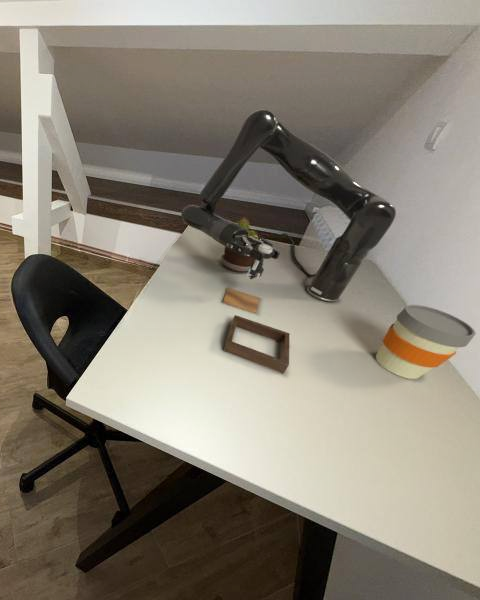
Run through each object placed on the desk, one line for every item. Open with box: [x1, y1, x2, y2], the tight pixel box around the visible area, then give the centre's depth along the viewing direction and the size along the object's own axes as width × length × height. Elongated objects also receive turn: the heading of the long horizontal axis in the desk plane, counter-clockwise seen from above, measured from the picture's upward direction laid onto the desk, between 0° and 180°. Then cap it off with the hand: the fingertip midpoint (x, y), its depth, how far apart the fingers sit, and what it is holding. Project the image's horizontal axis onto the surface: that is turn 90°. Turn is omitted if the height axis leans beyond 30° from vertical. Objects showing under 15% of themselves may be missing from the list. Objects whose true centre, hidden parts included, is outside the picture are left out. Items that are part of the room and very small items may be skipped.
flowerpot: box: [220, 217, 261, 274], centre depth 115 cm, size 14×15×20 cm
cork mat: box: [222, 287, 260, 314], centre depth 101 cm, size 10×10×1 cm
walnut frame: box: [223, 314, 290, 374], centre depth 82 cm, size 14×14×3 cm
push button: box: [244, 244, 275, 280], centre depth 92 cm, size 7×5×10 cm
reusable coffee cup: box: [375, 304, 476, 380], centre depth 76 cm, size 13×13×15 cm
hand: (270, 257), depth 88 cm, fingers closed on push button, 5 cm apart
